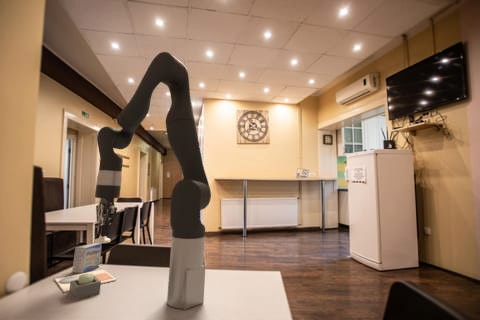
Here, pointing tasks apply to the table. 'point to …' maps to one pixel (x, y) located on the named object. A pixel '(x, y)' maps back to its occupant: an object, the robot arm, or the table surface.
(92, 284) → the button box
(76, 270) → the medicine box
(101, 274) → the sheet
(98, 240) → the chess piece
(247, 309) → the table surface
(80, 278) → the button
